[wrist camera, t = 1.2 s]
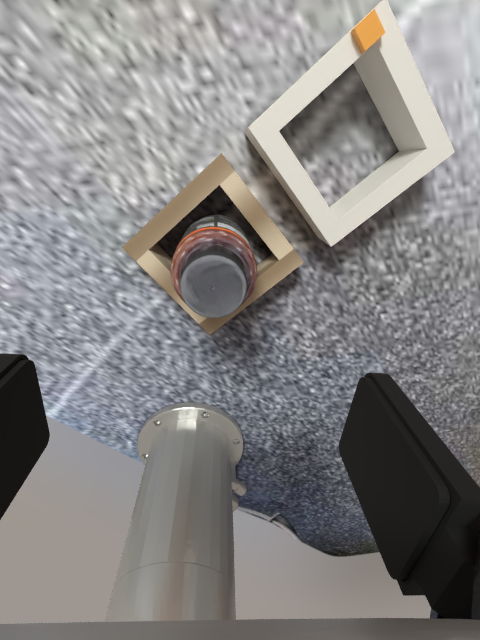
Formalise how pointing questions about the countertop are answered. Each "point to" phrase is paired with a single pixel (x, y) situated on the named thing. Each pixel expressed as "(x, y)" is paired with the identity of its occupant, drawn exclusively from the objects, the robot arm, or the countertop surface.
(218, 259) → the supplement bottle
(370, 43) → the socket block
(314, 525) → the countertop surface
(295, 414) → the countertop surface
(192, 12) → the countertop surface
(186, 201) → the block
